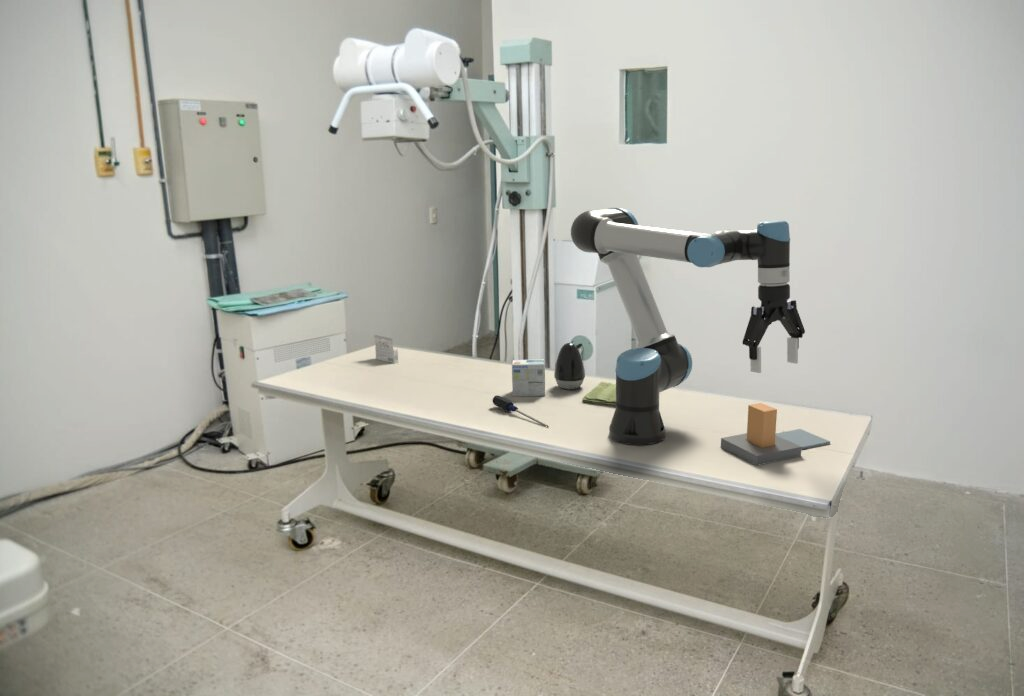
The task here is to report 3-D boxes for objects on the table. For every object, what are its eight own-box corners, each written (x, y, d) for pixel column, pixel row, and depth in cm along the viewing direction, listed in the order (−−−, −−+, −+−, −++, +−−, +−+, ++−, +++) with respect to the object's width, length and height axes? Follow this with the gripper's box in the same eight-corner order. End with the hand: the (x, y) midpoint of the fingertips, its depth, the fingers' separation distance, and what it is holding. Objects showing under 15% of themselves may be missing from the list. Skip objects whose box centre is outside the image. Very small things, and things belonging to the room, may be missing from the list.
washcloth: (580, 404, 246) (580, 394, 246) (599, 389, 262) (599, 379, 261) (620, 409, 241) (620, 399, 240) (637, 393, 256) (637, 383, 255)
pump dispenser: (591, 387, 262) (591, 343, 258) (567, 393, 256) (567, 348, 253) (572, 381, 270) (572, 337, 266) (548, 386, 264) (547, 342, 261)
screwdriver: (553, 426, 226) (553, 414, 225) (543, 429, 224) (543, 416, 223) (499, 405, 246) (499, 393, 245) (490, 407, 244) (490, 396, 243)
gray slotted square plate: (756, 465, 194) (756, 455, 194) (720, 447, 207) (721, 438, 206) (800, 456, 199) (801, 446, 199) (763, 438, 212) (763, 429, 211)
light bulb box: (545, 390, 261) (544, 358, 258) (545, 396, 254) (544, 363, 251) (512, 390, 261) (512, 359, 258) (512, 396, 254) (511, 364, 252)
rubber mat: (797, 450, 203) (797, 448, 203) (768, 437, 213) (768, 434, 213) (830, 443, 208) (830, 441, 207) (800, 430, 217) (800, 428, 217)
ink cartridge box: (380, 358, 308) (378, 333, 305) (398, 362, 300) (397, 337, 298) (375, 359, 306) (373, 334, 304) (393, 363, 299) (392, 338, 296)
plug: (761, 456, 200) (764, 411, 197) (746, 449, 205) (748, 405, 202) (774, 454, 201) (776, 409, 198) (758, 446, 207) (760, 402, 204)
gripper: (750, 291, 186) (751, 378, 190) (819, 278, 199) (819, 360, 203) (726, 289, 193) (728, 373, 197) (795, 277, 205) (795, 356, 209)
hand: (774, 367), depth 200 cm, fingers open, 13 cm apart
